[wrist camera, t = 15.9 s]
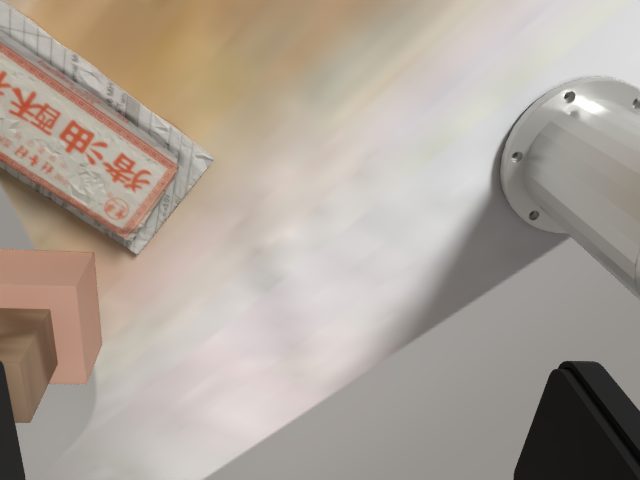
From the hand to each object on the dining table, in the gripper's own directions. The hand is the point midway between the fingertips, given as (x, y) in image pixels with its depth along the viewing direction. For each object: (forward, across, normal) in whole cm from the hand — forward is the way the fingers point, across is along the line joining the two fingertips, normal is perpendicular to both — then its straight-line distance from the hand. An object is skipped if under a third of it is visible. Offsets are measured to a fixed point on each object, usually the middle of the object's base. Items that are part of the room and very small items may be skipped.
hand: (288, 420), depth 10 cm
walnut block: (+28, +17, +20) cm, 39 cm away
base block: (+33, +17, +20) cm, 42 cm away
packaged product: (+34, +13, +6) cm, 37 cm away
